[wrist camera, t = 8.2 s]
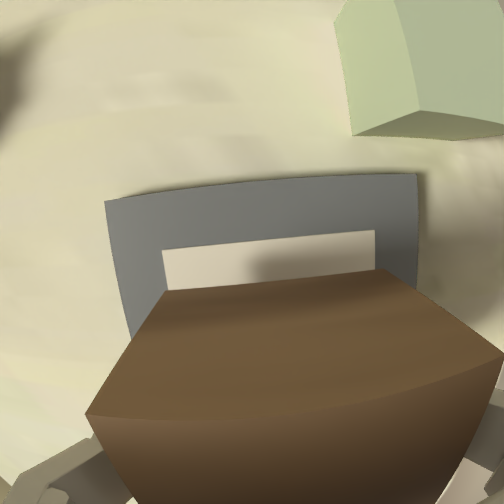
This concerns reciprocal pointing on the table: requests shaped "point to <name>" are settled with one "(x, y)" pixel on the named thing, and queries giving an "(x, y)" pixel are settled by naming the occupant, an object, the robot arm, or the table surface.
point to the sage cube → (423, 67)
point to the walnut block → (295, 394)
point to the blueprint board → (261, 234)
